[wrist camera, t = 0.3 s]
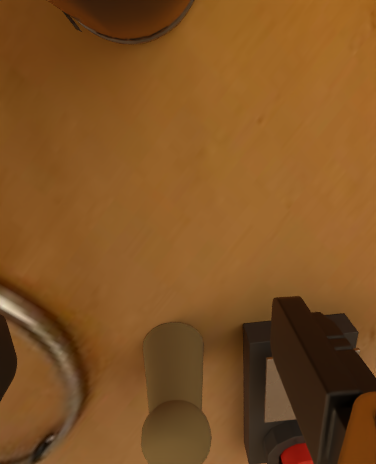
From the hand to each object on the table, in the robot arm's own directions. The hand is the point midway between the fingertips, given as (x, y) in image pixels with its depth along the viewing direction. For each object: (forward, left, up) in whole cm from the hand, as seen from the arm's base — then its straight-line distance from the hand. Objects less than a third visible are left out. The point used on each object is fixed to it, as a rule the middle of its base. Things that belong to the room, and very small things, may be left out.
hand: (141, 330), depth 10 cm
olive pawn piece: (+17, 0, -18) cm, 25 cm away
